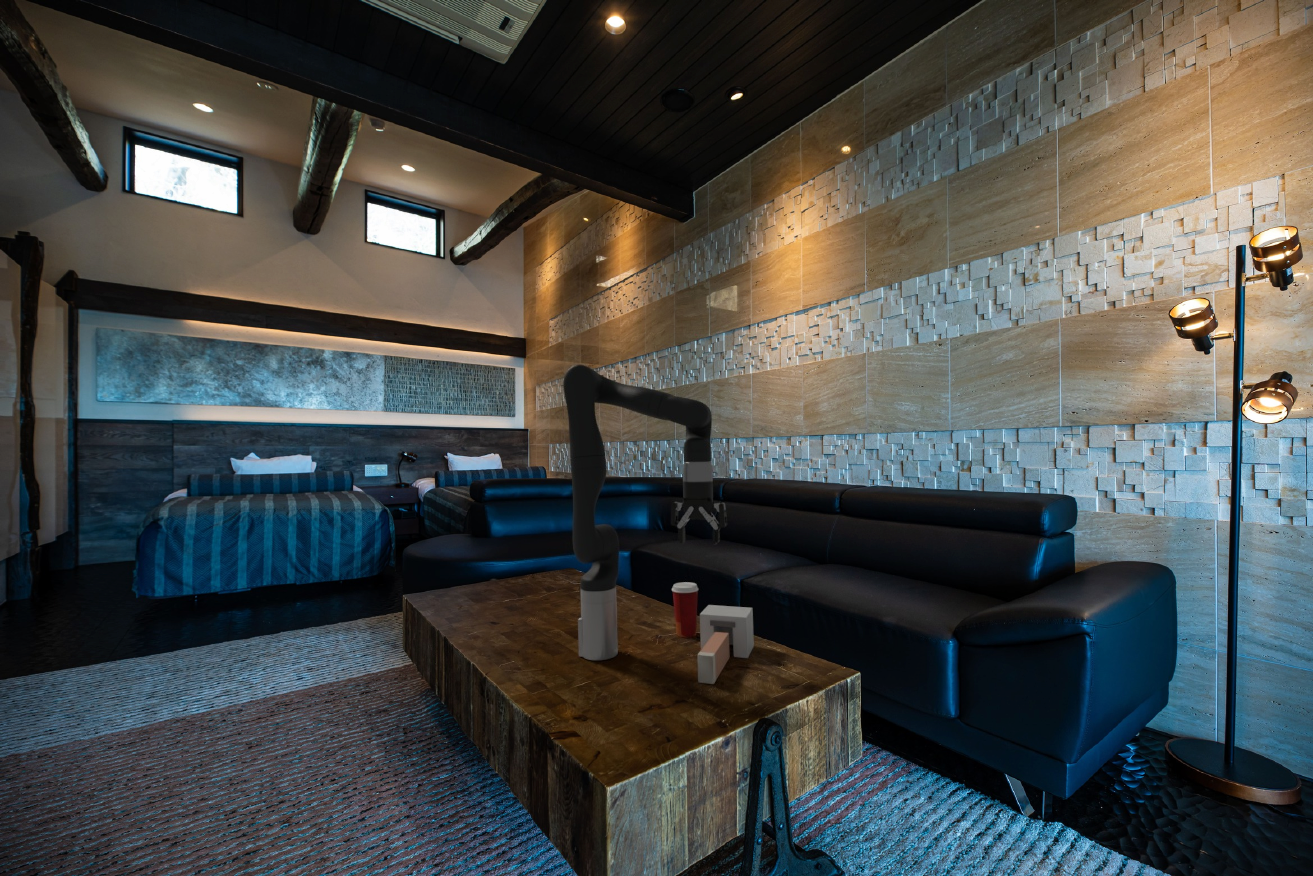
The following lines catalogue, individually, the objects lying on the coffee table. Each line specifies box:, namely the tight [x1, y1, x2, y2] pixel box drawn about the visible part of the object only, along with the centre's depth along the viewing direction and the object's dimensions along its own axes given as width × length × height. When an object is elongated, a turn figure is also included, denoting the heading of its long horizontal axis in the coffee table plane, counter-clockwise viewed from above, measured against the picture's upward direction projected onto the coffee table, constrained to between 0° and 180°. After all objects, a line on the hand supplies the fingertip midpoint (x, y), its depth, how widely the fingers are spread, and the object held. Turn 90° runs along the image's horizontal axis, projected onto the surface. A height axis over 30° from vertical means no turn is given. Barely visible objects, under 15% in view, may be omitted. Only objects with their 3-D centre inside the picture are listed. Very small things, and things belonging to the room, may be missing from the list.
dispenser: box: [699, 604, 755, 659], centre depth 141 cm, size 12×10×10 cm
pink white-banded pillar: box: [696, 632, 730, 685], centre depth 128 cm, size 4×16×6 cm, turn 160°
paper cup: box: [671, 581, 699, 639], centre depth 154 cm, size 8×8×14 cm
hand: (699, 543), depth 137 cm, fingers open, 8 cm apart
